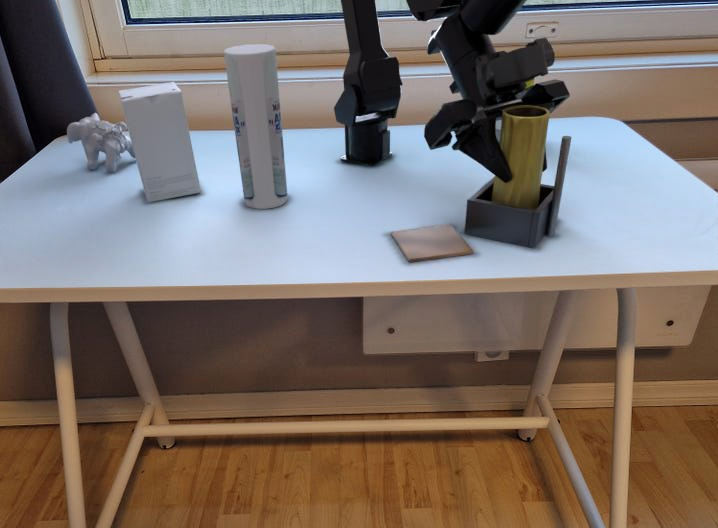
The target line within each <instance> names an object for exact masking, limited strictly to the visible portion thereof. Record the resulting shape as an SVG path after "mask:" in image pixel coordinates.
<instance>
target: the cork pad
mask: <svg viewBox="0 0 718 528" xmlns="http://www.w3.org/2000/svg"><path fill="white" fill-rule="evenodd" d="M390 237H392V239H393V241H394V242H395V243H396V245H397V246H398V248H399V249H400V251H401V253H402V255H404V258H406V260H407V262H408V263H414V262H423V261H430V260H435V259H436V260H438V259H445V258H451V257H459V256H466V255H473V254H474V253H475V251H474V249H473V248H472V247H471V246H470V244H469V243H467V241H466V240H465V239H464V238H463V236H462V235H461V234H460V233H459V232H458V231H457V230H456V229H455V227H453V225H452V224H451V223H448V224H442V225H441V224H440V225H433V226H432V225H431V226H425V227H416V228H409V229H401V230H394V231H390Z"/></svg>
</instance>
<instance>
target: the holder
mask: <svg viewBox="0 0 718 528" xmlns="http://www.w3.org/2000/svg"><path fill="white" fill-rule="evenodd" d="M571 142H572V136H571V135H562V137H561V142H560V148H559V154H558V160H557V167H556V172H555V178H554V185H550V184H543V183H541V185H540V194H539V203H538V208H537V209H536V210H534V209H529V208H523V207H518V206H512V205H507V204H501V203H496V202H491V199H492V193H493V186H494V179H495V175H494V176H493V177H491V179H489V180H488V181H487V182H486V183H485V184H483V186H481V187H480V188H479V189H478V190H476V192H475V193H473V194H472V195H471V196H470V197H469V198H467V200H466V211H465V220H464V221H465V222H464V235H468V236H473V237H477V238H478V237H479V238H482V239H486V240H493V241H498V242H502V243H506V244H512V245H516V246H521V247H526V248H531V249H536V247H537V246H538V245H539V243H540V242H541V241H542V240H543V239H544V238H545V236H547V237H551V238H552V237H554V236H555V234H556V229H557V222H558V219H559V218H558V217H559V212H560V207H561V200H562V196H563V195H562V194H563V188H564V182H565V179H566V178H565V177H566V171H567V167H568V166H567V165H568V161H569V160H568V159H569V154H570V148H571Z"/></svg>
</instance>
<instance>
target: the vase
mask: <svg viewBox="0 0 718 528" xmlns="http://www.w3.org/2000/svg"><path fill="white" fill-rule="evenodd" d="M550 115H551V114H550V112H549V110H548V109H546V108H543V107H538V106H527V105H522V106H512V107H508V108H505V109H504V110H503V114H502V123H501V132H500V141H499V144H500V147H501V149H502V151H503V154H504V156H505V158H506V161H507V163H508V165H509V168H510V171H511V174H512V180H511V181H510V182H508V183H504V182H503V181H502V180H500V179H499V178H498V177H496V176H495V175H494V176H495V179H494V186H493V193H492V199H491V202H496V203H501V204H507V205H512V206H518V207H523V208H529V209H534V210H536V209H537V208H538V203H539V194H540V185H541V184H542V177H543V172H542V170H543V162H544V153H545V147H546V145H547V137H548V129H549V122H550Z"/></svg>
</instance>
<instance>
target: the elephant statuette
mask: <svg viewBox="0 0 718 528" xmlns="http://www.w3.org/2000/svg"><path fill="white" fill-rule="evenodd" d="M126 130H128V127H127V123H126V122H124V121H121V120H119V121H118V122H116V123H112V122H109V120H104V119H102V120H101V118H100V116H99V114H98V113H96V112H94V113H92V114H91V115H90V116H85V117H84V118H81V119H79V121H74V122H71V123H69V124H68V126H67V128H66V135H67V142H68V143H69V144H70V145H72V144H73V143H75V142H79V141H81V145H82V148H83V150H84V153H85V156H86V159H87V163H86V166H87V168H88V169H90V170H96V169H97V168H98V162H99V161H98V160H99V158H100V157H99V156H100V152H101V153H104V154H105V169H106V171H107V172H109V173H113V172H115V171H116V169H117V167H116V160H117V159H118V157H119V159H122V155H121V154H123V153H125V151H127V152H128V153H129V155H130V157H132V158H133V159H135V160H136V158H135V154H134V150H133V146H132V142H131V139H130V136H128V135H126V134H125V133H124V132H125V131H126Z"/></svg>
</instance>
